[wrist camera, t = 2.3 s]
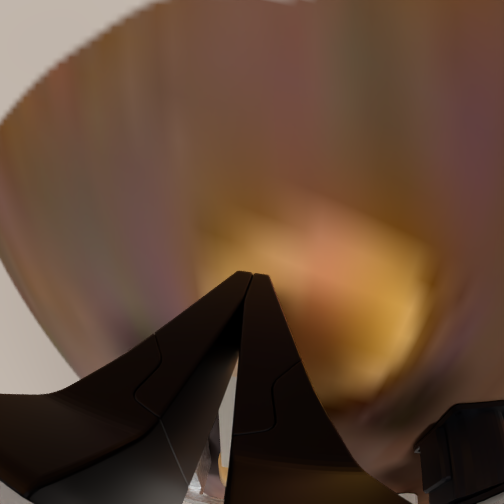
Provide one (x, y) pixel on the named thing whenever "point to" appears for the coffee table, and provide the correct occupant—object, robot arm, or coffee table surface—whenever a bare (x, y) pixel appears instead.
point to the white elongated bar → (226, 425)
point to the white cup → (410, 497)
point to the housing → (201, 481)
